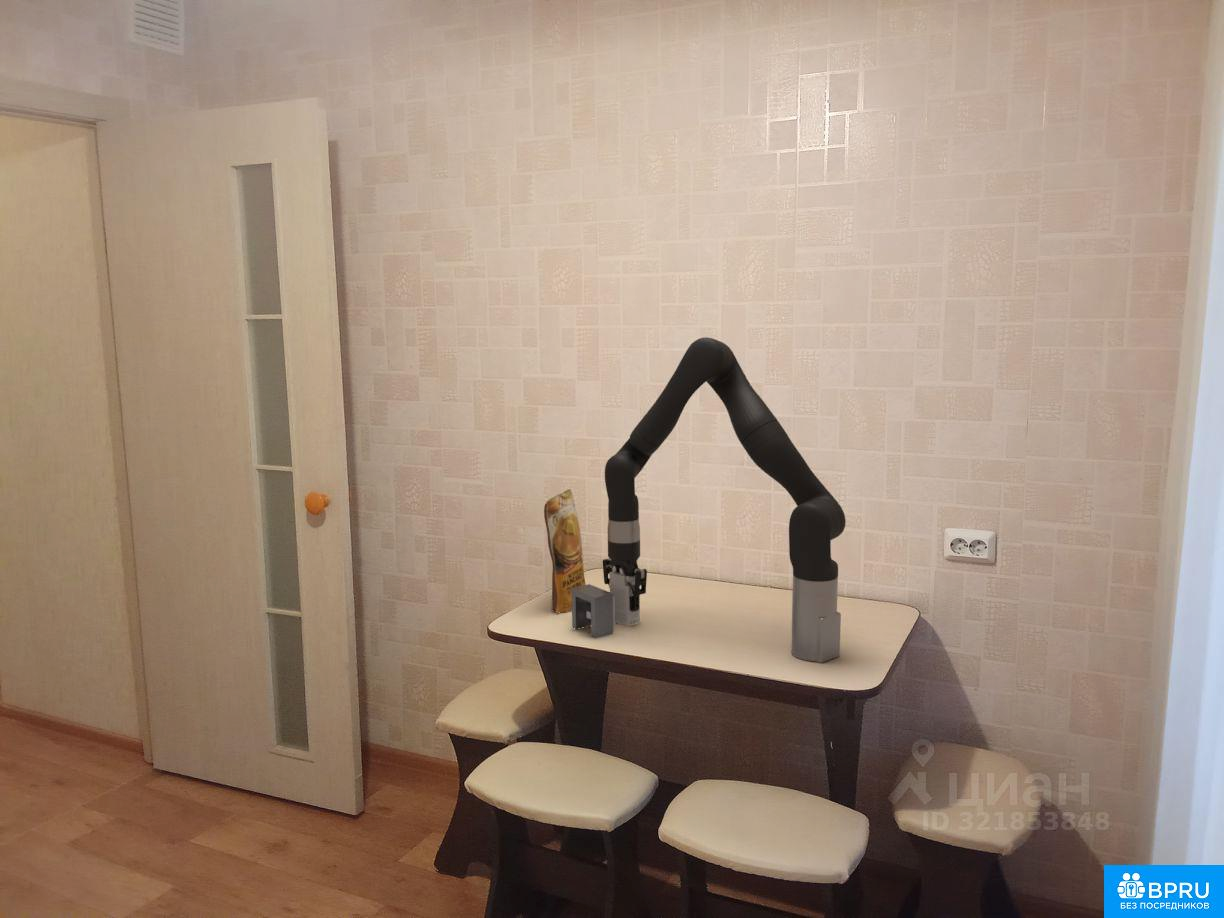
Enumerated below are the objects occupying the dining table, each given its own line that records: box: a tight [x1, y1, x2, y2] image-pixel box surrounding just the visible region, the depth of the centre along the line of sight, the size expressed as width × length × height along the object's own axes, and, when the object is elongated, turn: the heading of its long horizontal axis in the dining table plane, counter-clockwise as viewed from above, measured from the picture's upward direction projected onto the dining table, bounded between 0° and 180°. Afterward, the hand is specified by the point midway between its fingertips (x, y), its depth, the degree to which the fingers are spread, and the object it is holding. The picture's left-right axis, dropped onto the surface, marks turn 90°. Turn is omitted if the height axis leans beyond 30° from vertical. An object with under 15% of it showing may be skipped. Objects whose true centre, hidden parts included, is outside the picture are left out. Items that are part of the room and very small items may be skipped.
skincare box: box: [608, 572, 641, 627], centre depth 215 cm, size 6×4×12 cm
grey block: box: [586, 596, 616, 628], centre depth 213 cm, size 10×6×7 cm, turn 37°
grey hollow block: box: [571, 583, 614, 640], centre depth 213 cm, size 12×11×10 cm
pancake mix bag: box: [543, 488, 587, 615], centre depth 227 cm, size 7×19×28 cm, turn 156°
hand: (624, 606), depth 215 cm, fingers closed on skincare box, 6 cm apart
